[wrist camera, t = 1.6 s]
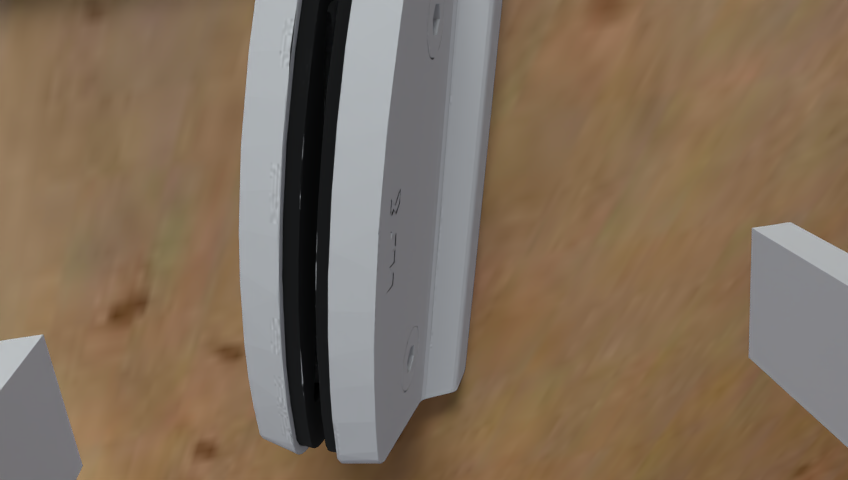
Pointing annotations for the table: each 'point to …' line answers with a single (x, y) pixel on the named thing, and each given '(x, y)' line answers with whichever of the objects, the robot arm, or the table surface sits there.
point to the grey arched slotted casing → (361, 212)
